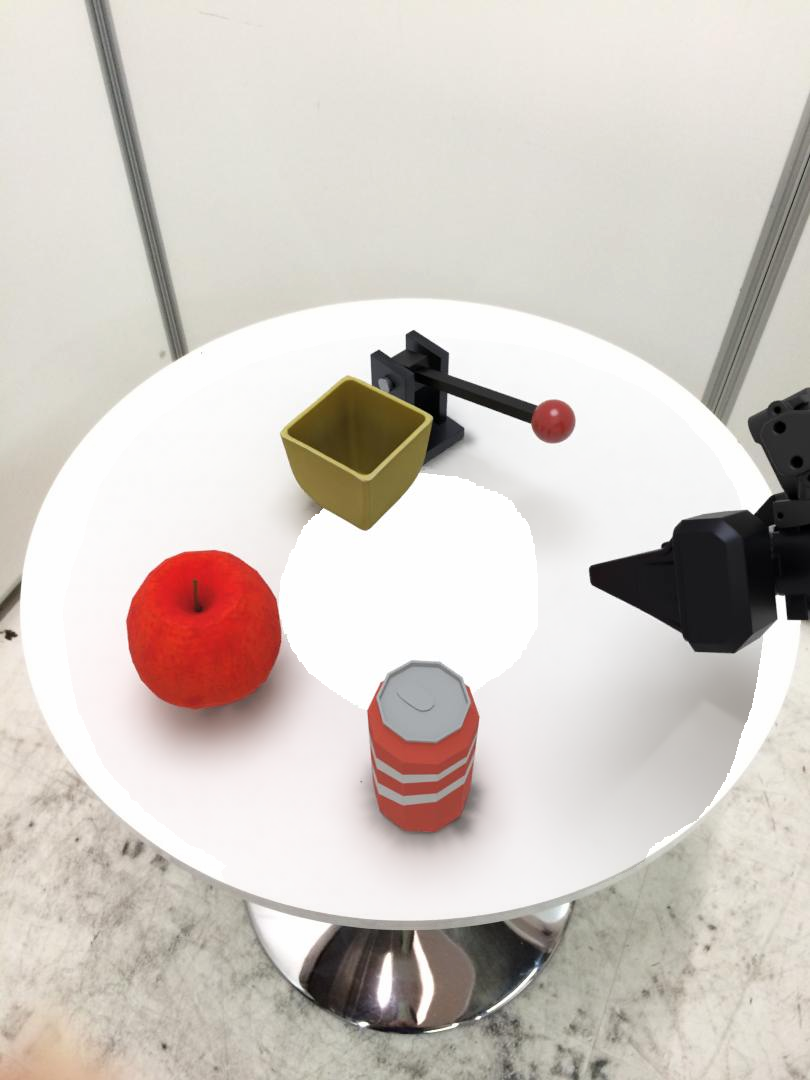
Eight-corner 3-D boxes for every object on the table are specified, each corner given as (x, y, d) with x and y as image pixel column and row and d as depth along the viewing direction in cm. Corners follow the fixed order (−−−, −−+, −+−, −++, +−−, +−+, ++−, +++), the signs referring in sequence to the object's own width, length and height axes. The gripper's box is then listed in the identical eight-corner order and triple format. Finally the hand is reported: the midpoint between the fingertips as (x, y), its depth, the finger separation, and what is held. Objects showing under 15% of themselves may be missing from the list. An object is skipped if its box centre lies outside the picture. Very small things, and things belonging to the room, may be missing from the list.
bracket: (464, 437, 79) (469, 360, 72) (416, 469, 76) (416, 392, 69) (404, 395, 82) (403, 317, 76) (356, 424, 80) (351, 346, 73)
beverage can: (413, 729, 60) (413, 633, 51) (487, 785, 57) (502, 694, 48) (354, 794, 57) (343, 704, 48) (430, 856, 54) (434, 773, 45)
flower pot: (434, 493, 74) (436, 414, 67) (372, 558, 70) (367, 481, 63) (353, 451, 78) (347, 372, 71) (289, 511, 73) (276, 432, 66)
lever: (586, 435, 64) (583, 398, 62) (557, 456, 62) (553, 418, 61) (416, 374, 77) (409, 341, 75) (389, 391, 75) (381, 358, 73)
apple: (186, 771, 58) (142, 677, 49) (130, 665, 63) (82, 562, 54) (315, 699, 62) (298, 598, 52) (252, 604, 67) (227, 497, 58)
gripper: (953, 382, 47) (680, 421, 58) (866, 380, 34) (527, 432, 44) (970, 583, 48) (697, 586, 59) (891, 663, 34) (551, 649, 45)
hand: (629, 562), depth 51 cm, fingers open, 9 cm apart
